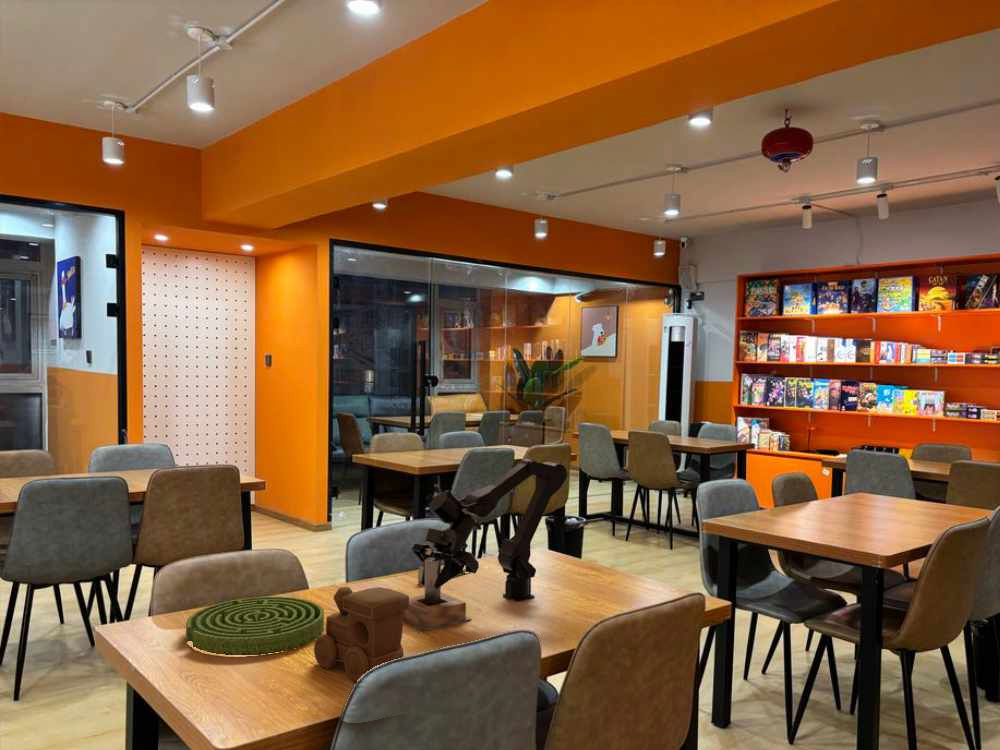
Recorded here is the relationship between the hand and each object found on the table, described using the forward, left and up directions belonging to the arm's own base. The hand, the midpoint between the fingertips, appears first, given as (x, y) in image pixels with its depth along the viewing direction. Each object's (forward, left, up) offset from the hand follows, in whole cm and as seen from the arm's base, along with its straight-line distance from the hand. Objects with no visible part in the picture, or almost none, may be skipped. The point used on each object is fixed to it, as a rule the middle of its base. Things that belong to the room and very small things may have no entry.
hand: (429, 586), depth 195 cm
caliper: (-25, -29, -9) cm, 40 cm away
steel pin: (-1, 0, -7) cm, 7 cm away
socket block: (-1, 0, -8) cm, 9 cm away
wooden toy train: (+29, +18, -9) cm, 35 cm away
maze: (+38, -16, -9) cm, 42 cm away
